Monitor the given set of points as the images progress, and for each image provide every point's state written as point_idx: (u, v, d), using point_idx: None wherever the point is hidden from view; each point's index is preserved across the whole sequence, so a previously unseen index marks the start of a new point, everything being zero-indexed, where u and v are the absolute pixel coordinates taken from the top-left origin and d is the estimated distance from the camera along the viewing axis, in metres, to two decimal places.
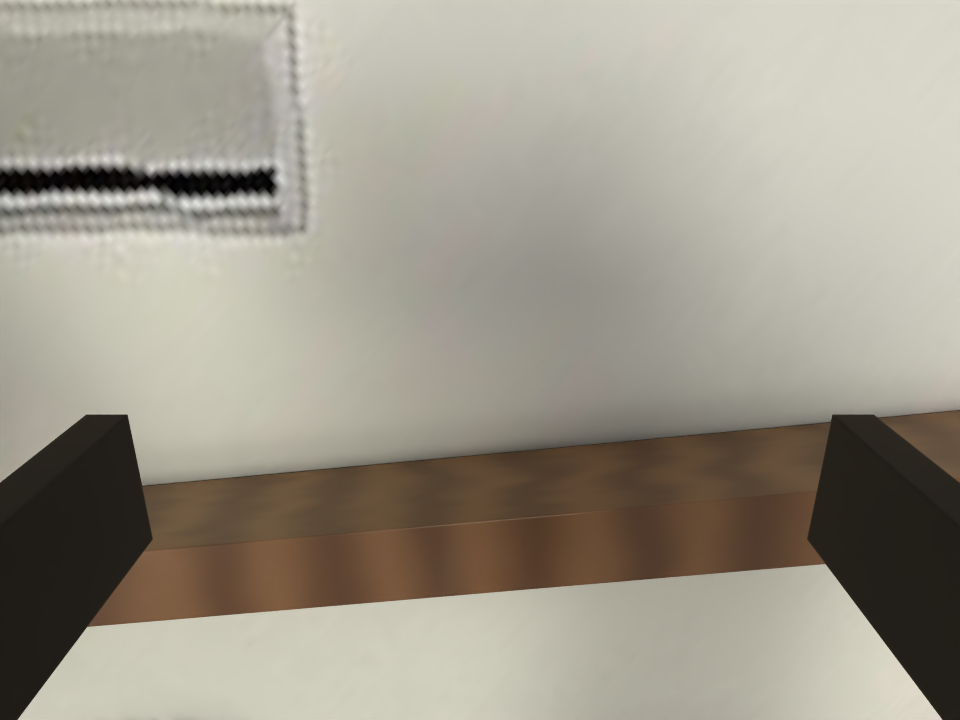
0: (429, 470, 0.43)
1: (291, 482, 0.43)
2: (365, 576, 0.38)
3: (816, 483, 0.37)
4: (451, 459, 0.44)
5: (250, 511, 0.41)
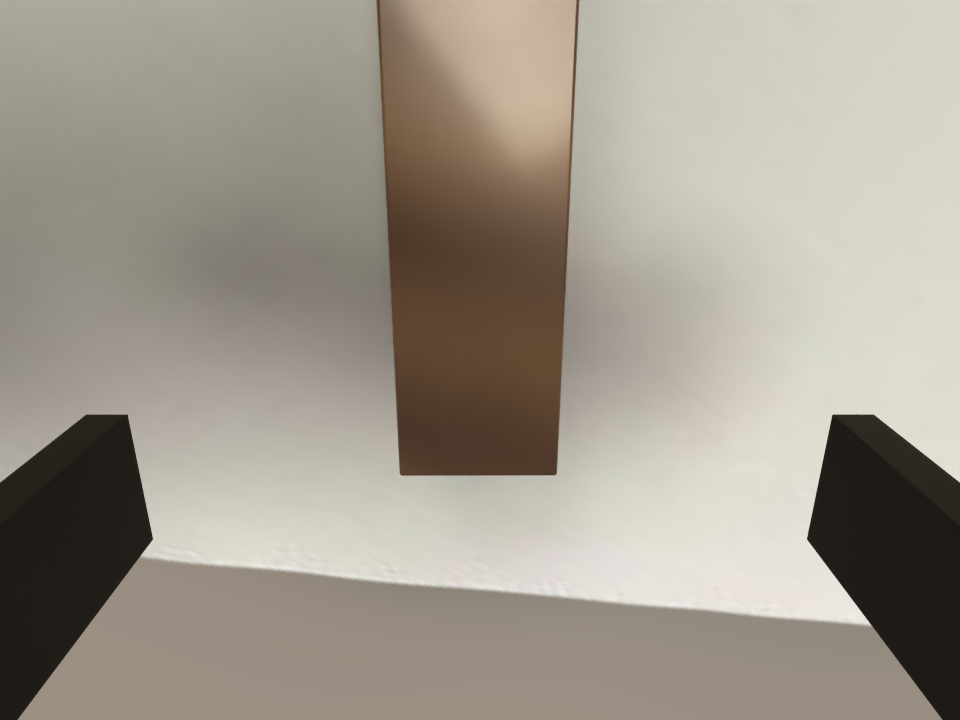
0: None
1: None
2: None
3: None
4: None
5: None
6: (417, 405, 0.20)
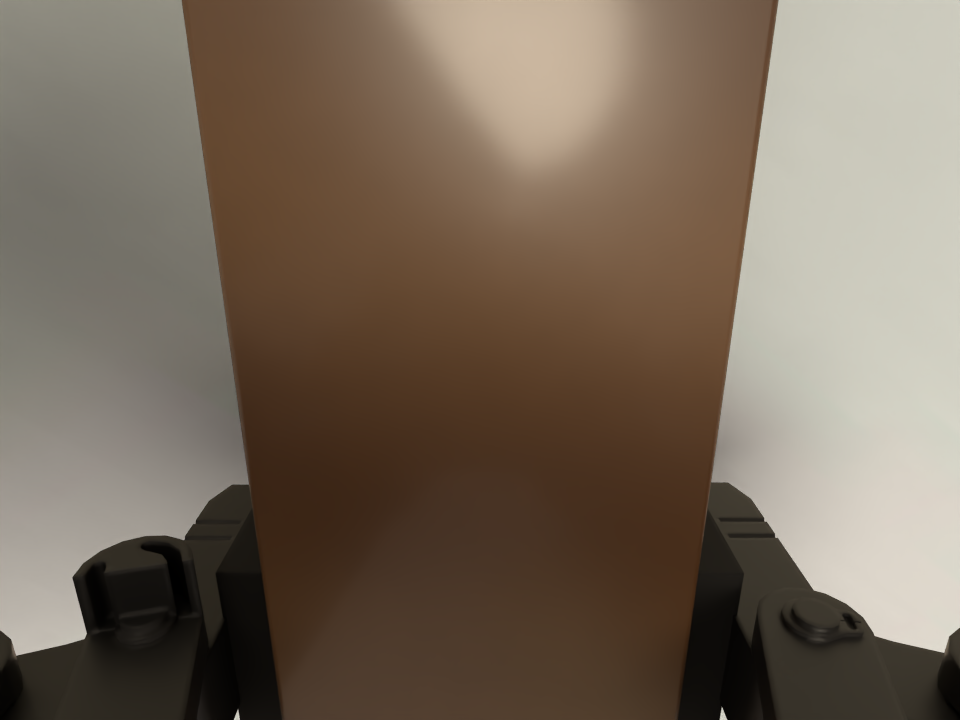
0: None
1: None
2: None
3: None
4: None
5: None
6: None
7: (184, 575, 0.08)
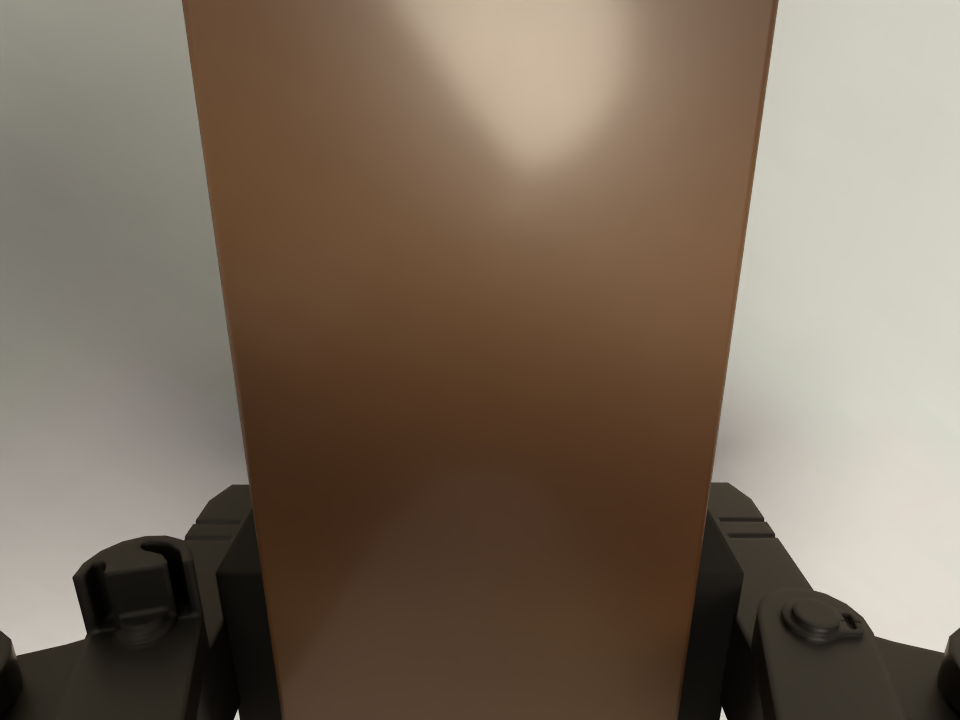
0: None
1: None
2: None
3: None
4: None
5: None
6: None
7: (184, 575, 0.08)
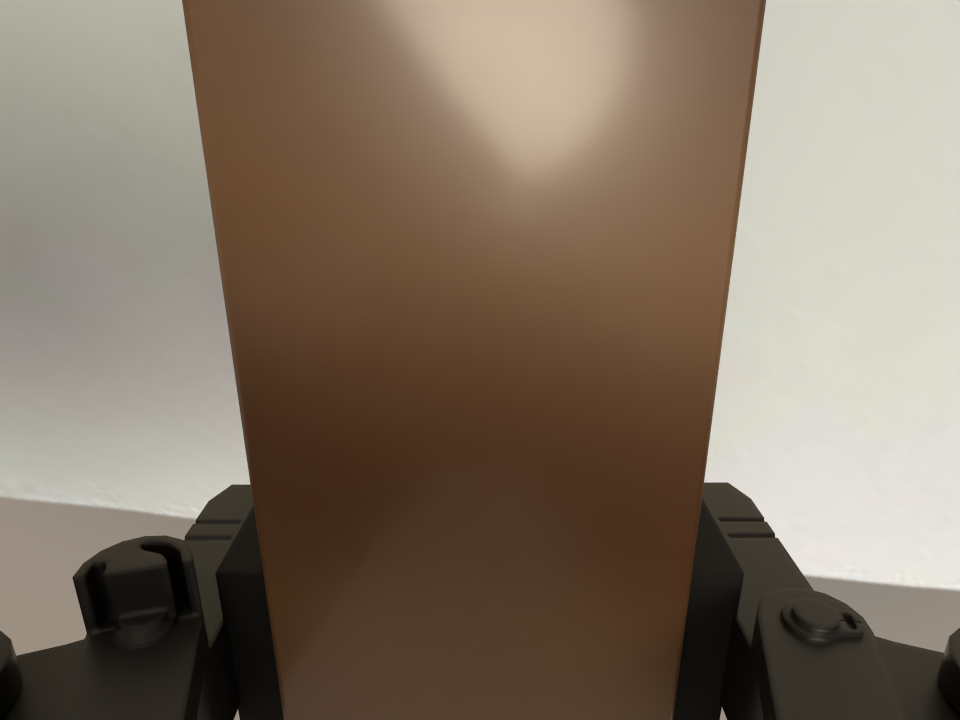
0: None
1: None
2: None
3: None
4: None
5: None
6: None
7: (184, 575, 0.08)
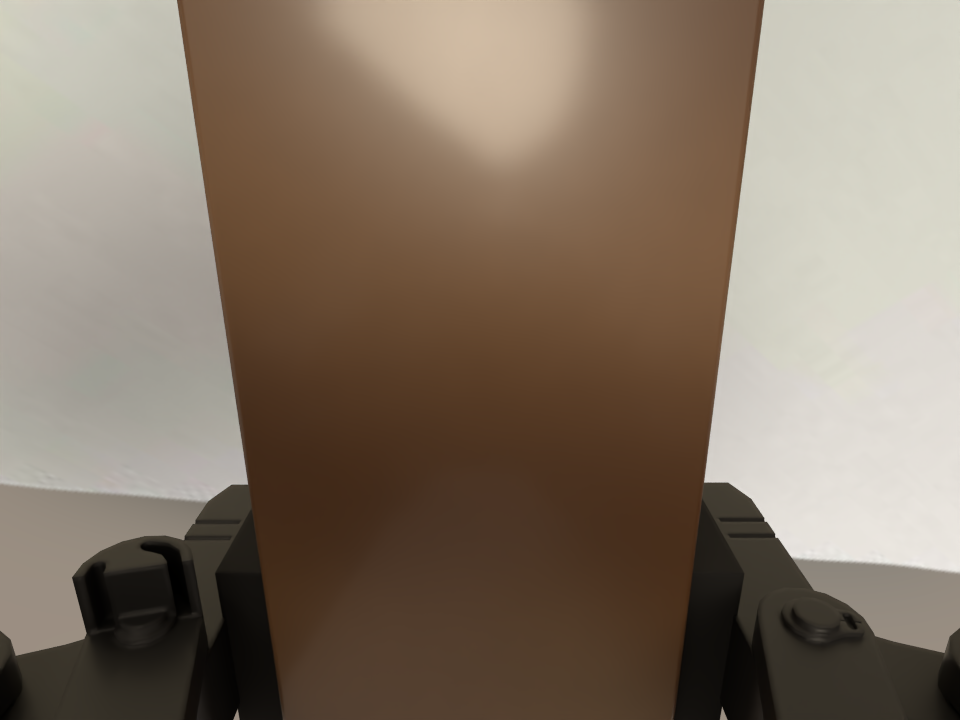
0: None
1: None
2: None
3: None
4: None
5: None
6: None
7: (184, 575, 0.08)
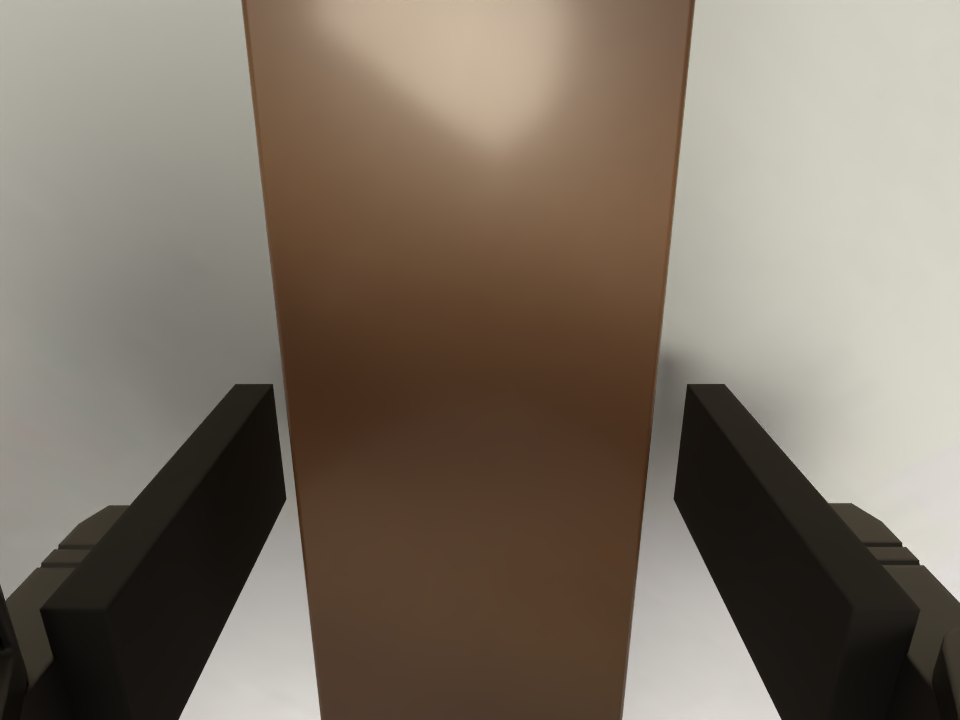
0: None
1: None
2: None
3: None
4: None
5: None
6: (354, 678, 0.11)
7: None
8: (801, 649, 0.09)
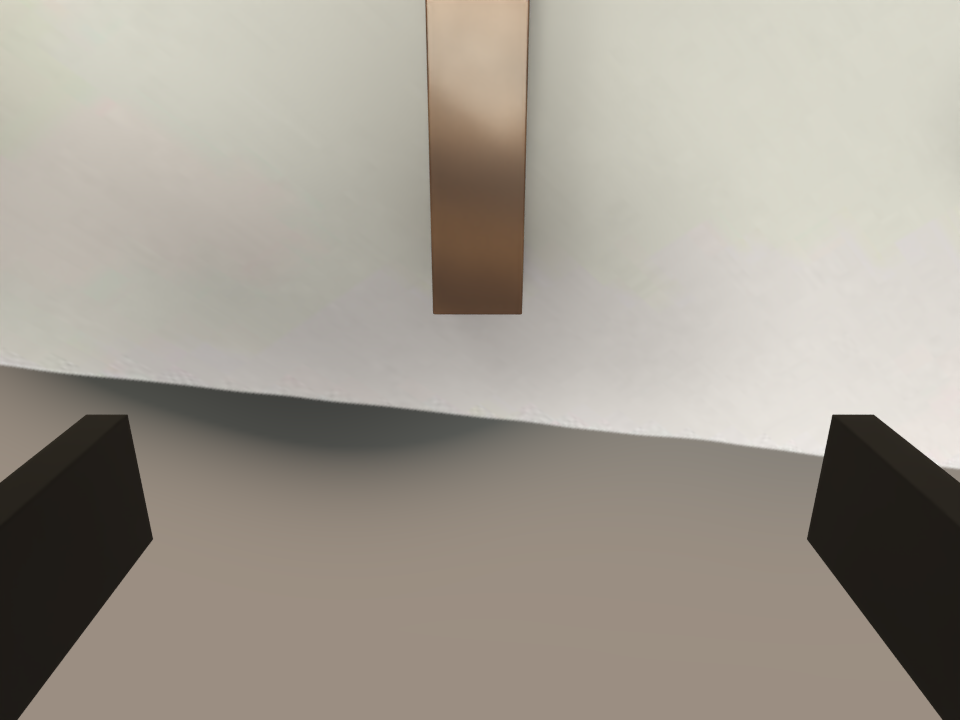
0: None
1: None
2: None
3: None
4: None
5: None
6: (443, 271, 0.36)
7: None
8: None
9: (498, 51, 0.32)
